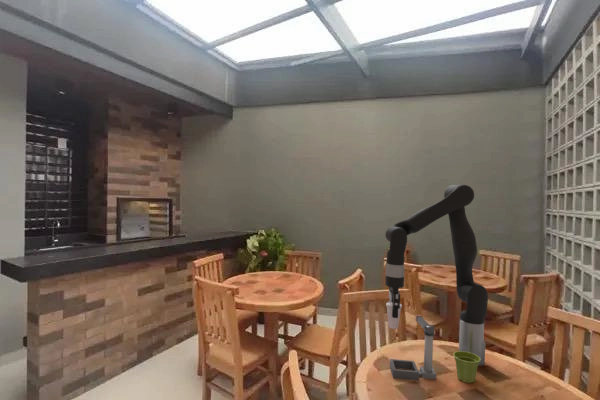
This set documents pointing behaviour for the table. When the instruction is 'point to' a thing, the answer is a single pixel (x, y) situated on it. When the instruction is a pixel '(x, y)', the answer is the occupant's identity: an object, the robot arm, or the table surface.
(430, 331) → the joystick lever
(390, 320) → the smoothie
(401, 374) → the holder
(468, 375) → the plant pot
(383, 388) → the table surface
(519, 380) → the table surface
